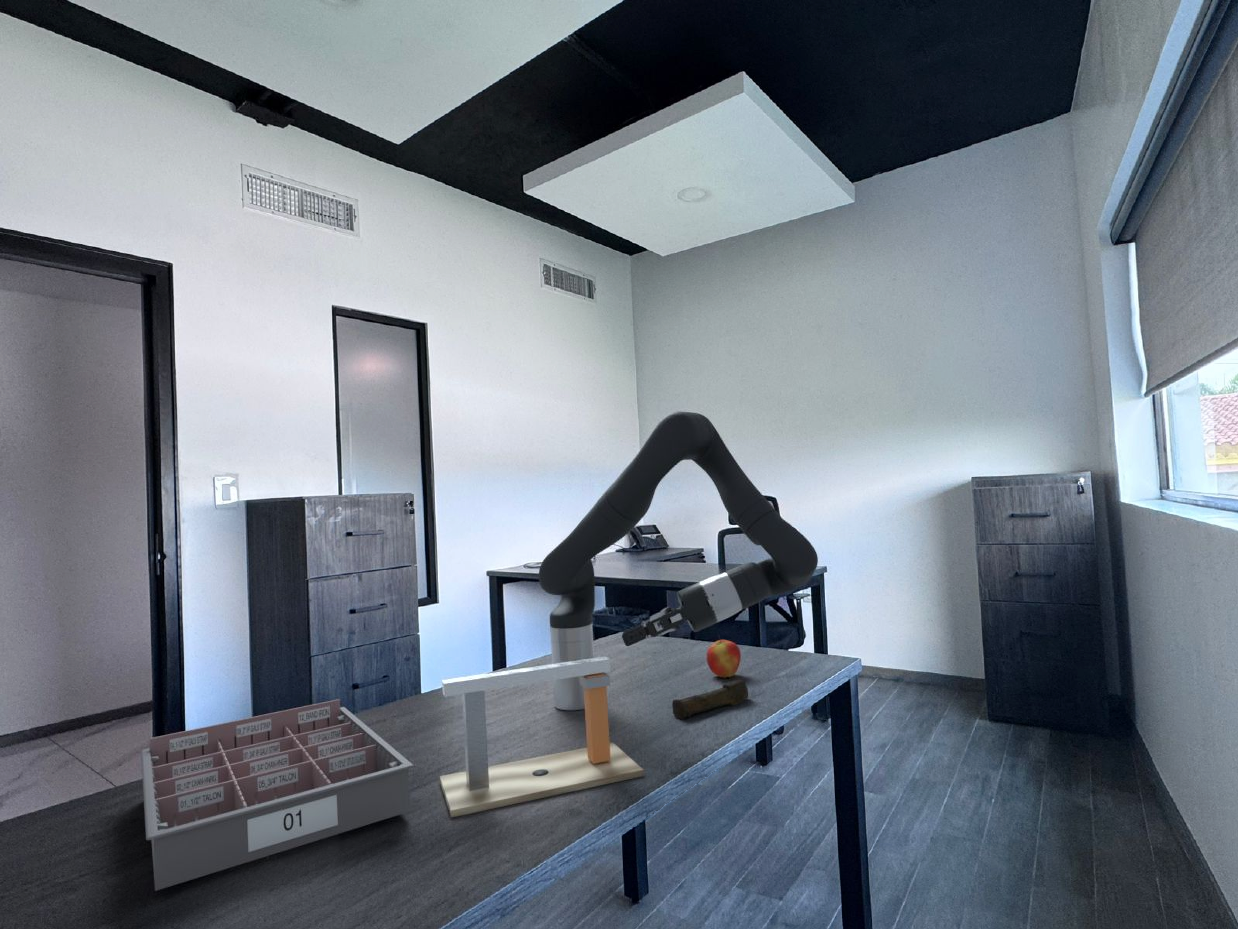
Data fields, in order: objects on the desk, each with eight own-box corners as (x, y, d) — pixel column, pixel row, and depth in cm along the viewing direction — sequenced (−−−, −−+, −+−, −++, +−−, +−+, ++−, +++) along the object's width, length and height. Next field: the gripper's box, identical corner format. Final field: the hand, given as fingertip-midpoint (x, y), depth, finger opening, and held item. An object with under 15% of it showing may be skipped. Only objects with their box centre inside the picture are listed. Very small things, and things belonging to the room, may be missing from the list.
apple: (744, 680, 163) (741, 637, 164) (710, 682, 163) (707, 639, 164) (739, 671, 171) (736, 630, 172) (706, 673, 171) (703, 632, 172)
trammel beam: (447, 788, 109) (441, 679, 109) (610, 755, 118) (604, 656, 119) (449, 795, 106) (444, 684, 106) (616, 761, 115) (610, 659, 116)
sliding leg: (583, 757, 117) (579, 673, 118) (606, 753, 118) (601, 669, 119) (591, 765, 113) (586, 678, 114) (614, 760, 115) (609, 674, 115)
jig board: (440, 782, 113) (439, 775, 113) (613, 748, 124) (612, 742, 124) (451, 817, 100) (450, 810, 100) (643, 776, 111) (643, 769, 111)
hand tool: (683, 722, 137) (682, 698, 137) (671, 717, 140) (670, 694, 140) (756, 703, 146) (755, 680, 146) (744, 699, 150) (742, 677, 150)
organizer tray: (148, 908, 82) (145, 821, 82) (142, 799, 114) (140, 737, 115) (417, 821, 100) (414, 751, 101) (346, 749, 133) (344, 696, 133)
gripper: (696, 582, 129) (615, 618, 128) (704, 579, 115) (614, 620, 114) (713, 621, 127) (632, 657, 126) (724, 622, 114) (632, 663, 112)
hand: (623, 639), depth 120 cm, fingers open, 8 cm apart
